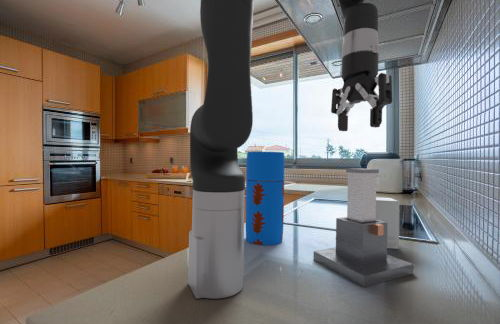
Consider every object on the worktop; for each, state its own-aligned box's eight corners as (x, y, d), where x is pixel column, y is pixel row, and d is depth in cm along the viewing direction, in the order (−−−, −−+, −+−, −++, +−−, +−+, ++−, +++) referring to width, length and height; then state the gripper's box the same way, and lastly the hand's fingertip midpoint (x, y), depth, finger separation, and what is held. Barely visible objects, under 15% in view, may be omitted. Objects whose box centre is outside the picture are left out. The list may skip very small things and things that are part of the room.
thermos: (239, 242, 71) (240, 151, 71) (252, 232, 81) (254, 153, 81) (277, 247, 67) (279, 151, 67) (286, 236, 77) (288, 153, 77)
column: (361, 261, 53) (363, 169, 53) (344, 253, 57) (345, 168, 57) (377, 257, 55) (378, 169, 55) (359, 250, 59) (360, 168, 59)
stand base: (364, 287, 46) (365, 231, 46) (313, 259, 59) (314, 216, 59) (413, 273, 52) (413, 224, 52) (357, 251, 65) (358, 211, 65)
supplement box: (399, 249, 67) (400, 201, 67) (369, 247, 69) (370, 199, 69) (390, 241, 74) (391, 197, 74) (362, 239, 76) (363, 196, 76)
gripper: (324, 63, 62) (322, 131, 62) (376, 38, 49) (375, 123, 49) (346, 69, 65) (345, 133, 65) (401, 47, 52) (399, 127, 52)
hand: (358, 129), depth 57 cm, fingers open, 8 cm apart
